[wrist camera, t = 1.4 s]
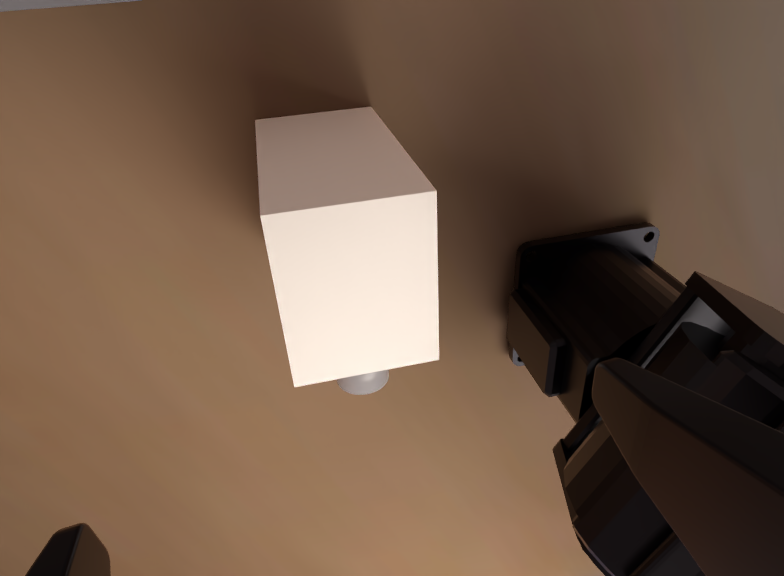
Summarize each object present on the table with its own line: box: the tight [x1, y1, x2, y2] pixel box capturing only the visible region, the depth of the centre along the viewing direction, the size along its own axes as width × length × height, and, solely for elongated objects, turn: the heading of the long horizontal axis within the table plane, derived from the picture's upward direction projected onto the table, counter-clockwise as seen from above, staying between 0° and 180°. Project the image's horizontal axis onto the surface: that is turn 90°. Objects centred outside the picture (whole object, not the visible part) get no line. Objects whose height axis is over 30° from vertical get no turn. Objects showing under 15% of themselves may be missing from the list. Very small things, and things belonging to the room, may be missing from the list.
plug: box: [255, 107, 439, 395], centre depth 17 cm, size 4×6×8 cm, turn 3°
